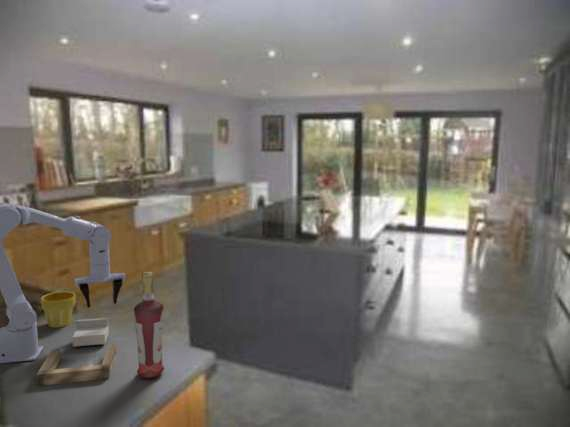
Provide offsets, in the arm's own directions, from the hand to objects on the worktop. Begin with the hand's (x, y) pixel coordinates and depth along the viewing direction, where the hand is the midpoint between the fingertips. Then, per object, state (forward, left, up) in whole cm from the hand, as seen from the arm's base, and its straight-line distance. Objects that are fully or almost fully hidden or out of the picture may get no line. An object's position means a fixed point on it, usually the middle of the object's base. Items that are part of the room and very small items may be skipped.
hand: (101, 304), depth 136 cm
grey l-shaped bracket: (-3, -5, -10) cm, 12 cm away
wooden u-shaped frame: (-3, -21, -10) cm, 23 cm away
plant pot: (-16, +12, -10) cm, 23 cm away
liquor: (+16, -28, -10) cm, 34 cm away
